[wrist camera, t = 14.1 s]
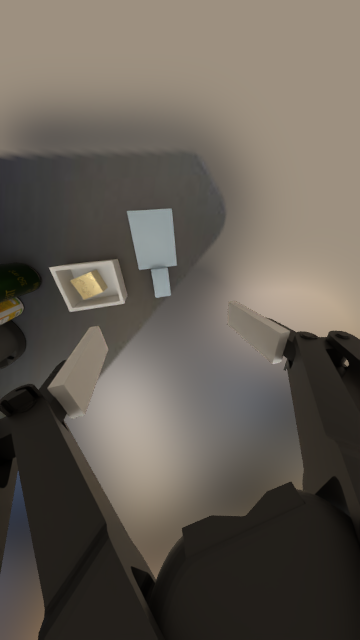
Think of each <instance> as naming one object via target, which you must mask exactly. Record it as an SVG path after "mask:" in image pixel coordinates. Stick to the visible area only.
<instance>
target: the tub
mask: <svg viewBox="0 0 360 640" xmlns="http://www.w3.org/2000/svg"><path fill="white" fill-rule="evenodd" d="M49 269H50V271H51V273H52V275H53V277H54V279H55V281H56V284H57V286H58V288H59V290H60V292H61V294H62V296H63V298H64V300H65V302H66V304H67V306H68V309H69V311H70V312H73V311H79V310H86V309H92V308H99V307H105V306H112V305H118V304H124V303H125V301H126V298H127V296H128V295H127V291H126V287H125V284H124V280H123V276H122V272H121V269H120V265H119V261H118V259H113V260H103V261H94V262H85V263H76V264H66V265H61V266H55V267H49ZM94 270H97V271H98V272H99V274H100V275H101V277H102V279H103V280H104V282H105V283H106V285H107V287H108V288H107V289H106V290H105V291H104V292H102V293H99V294H97V295H94V296H92V297H90V298H87V299H85V300H84V299H83V297H82V296H81V295H80V293H79V292H78V291H77V289H76V288H75V287H74V285H73V284H72V283H71V281H70V280H73V279H75V278H77V277H80V276H82V275H85V274H87V273H89V272H92V271H94Z"/></svg>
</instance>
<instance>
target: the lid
mask: <svg viewBox="0 0 360 640" xmlns="http://www.w3.org/2000/svg"><path fill="white" fill-rule="evenodd" d="M127 214H128V219H129V224H130V228H131V233H132V238H133V243H134V248H135V253H136V257H137V262H138V267H139V270H143V269H151V274H152V280H153V285H154V291H155V296H156V298H158V297H164V296H171V291H170V283H169V275H168V268H167V267H168V266H177V261H176V250H175V239H174V228H173V217H172V209H156V210H138V211H127Z"/></svg>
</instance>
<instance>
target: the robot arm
mask: <svg viewBox="0 0 360 640" xmlns="http://www.w3.org/2000/svg"><path fill="white" fill-rule="evenodd" d="M227 325H229V326H230V327H231V328H232V329H233V330H234V331H236V333H238V334H239V335H240V336H241V337H242V338H243V339H244V340H245V341H247V342H248V343H249V344H250V345H251V346H252V347H253V348H255V349H256V350H257V351H258V352H259V353H260V354H261V355H263V356H264V357H265V358H266V359H267V360H268V361H269V362H270V363H271V364H275V363H279V362H281V361H282V357H283V356H285V357H286V358H287V361H286V364H285V367H284V370H286V369H287V370H288V377H289V382H290V388H291V394H292V400H293V405H294V412H295V418H296V424H297V430H298V435H299V442H300V447H301V454H302V459H303V467H304V473H303V491H302V490H298V489H296V488H295V487H294V485H293V484H292V482H289V483H286V484H284V485H282V486H279V487H277V488H275V489H272V490H270V491H268V492H266V493H265V494H264V496H263V497H262V498H261V499H260V500H259V501H258V502H257V504H256V505H255V506H254V507H253V508H252V510H251V511H250V512H249V513H248V514H247V515H246V516H242V517H240V516H209V517H207V518H204V519H202V520H200V521H197V522H195V523H193V524H190V525H188V526H186V527H183V528H182V532H183V536H182V537H181V538H180V539H179V540H178V541H177V542H176V544H175V545H174V547H173V548H172V549H171V551H170V552H169V554H168V556H167V558H166V560H165V561H164V563H163V565H162V567H161V570H160V572H159V574H158V577H157V579H155V577H154V575H153V574H152V572H151V570H150V569H149V567H148V565H147V563H146V561H145V560H144V558H143V557H142V555H141V553H140V552H139V550H138V549H137V548H136V546H135V545H134V543H133V542H132V540H131V539H130V537H129V536H128V534H127V532H126V530H125V528H124V526H123V525H122V523H121V521H120V519H119V517H118V516H117V514H116V512H115V510H114V509H113V507H112V505H111V503H110V501H109V500H108V498H107V496H106V494H105V492H104V491H103V489H102V487H101V485H100V484H99V482H98V480H97V478H96V476H95V475H94V473H93V471H92V469H91V467H90V466H89V464H88V462H87V460H86V458H85V457H84V455H83V453H82V451H81V449H80V448H79V446H78V444H77V442H76V441H75V439H74V437H73V435H72V433H71V432H70V430H69V428H68V426H67V425H66V423H65V422H64V418H65V416H66V414H68V416H69V417H70V418H71V419H73V418H77V417H80V416H84V415H85V414H86V411H87V408H88V405H89V402H90V399H91V397H92V394H93V391H94V388H95V385H96V383H97V380H98V377H99V374H100V371H101V369H102V366H103V363H104V360H105V357H106V355H107V352H108V347H107V345H106V342H105V340H104V337H103V335H102V333H101V330H100V328H99V326H94V327H90V328H89V329H88V331H87V332H86V334H85V335H84V336H83V338H82V339H81V341H80V342H79V344H78V345H77V346H76V348H75V349H74V351H73V352H72V354H71V355H70V356H69V358H68V359H67V360H64V361H62V362H61V363H60V364H59V365H58V366H56V368H55V369H54V370H53V372H52V373H51V374H50V376H49V377H48V379H47V380H46V381H45V382H44V384H43V385H42V386H41V388H40V389H39V390H38V389H37V388H36V387H35V386H34V385H33V384H27V385H23V386H20V387H18V388H16V389H14V390H13V391H11V392H9V393H8V394H7V395H5V396H4V397H3V398H2V399H1V400H0V411H1V412H2V413H4V414H5V415H6V417H4V418H2V419H0V572H1V566H2V560H3V554H4V548H5V543H6V537H7V531H8V525H9V519H10V513H11V507H12V501H13V496H14V490H15V484H16V478H17V472H18V470H19V475H20V481H21V485H22V491H23V496H24V501H25V506H26V511H27V516H28V522H29V527H30V532H31V537H32V543H33V548H34V553H35V558H36V562H37V568H38V573H39V579H40V584H41V589H42V594H43V599H44V607H45V615H44V620H43V623H42V626H41V628H40V631H39V636H38V640H360V340H359V339H358V338H357V337H355V336H353V335H351V334H348V333H347V332H343V331H330V332H329V334H328V336H327V337H318V336H316V335H314V334H312V333H309V332H295V331H293V330H291V329H289V328H287V327H286V326H284V325H281V324H280V323H277V322H276V321H274V320H272V319H269V318H266V317H264V316H262V315H260V314H258V313H257V312H255V311H253V310H251V309H249V308H247V307H246V306H244V305H242V304H240V303H238V302H237V301H230V302H229V303H228V319H227ZM25 346H26V342H25V338H24V336H23V334H22V332H21V331H20V329H19V328H18V327H17V326H16V325H15V324H14V323H13V322H12V321H10V320H9V321H7V322H5V323H3V324H1V325H0V369H2V368H4V367H6V366H8V365H10V364H11V363H13V362H14V361H15V360H16V359H18V358H19V357H20V356H21V355H22V354H23V352H24V350H25ZM346 359H347V360H348V362H349V366H348V367H347V366H346V365H345V364H344V362H345V361H346Z"/></svg>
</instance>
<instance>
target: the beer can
mask: <svg viewBox="0 0 360 640" xmlns="http://www.w3.org/2000/svg"><path fill="white" fill-rule="evenodd" d="M40 282H41V280H40V276H39V275H38V273H37V272H36V271H35V270H34V269H32V268H31V267H29V266H27V265H24V264H20V263H11V264H1V265H0V303H1V302H4V301H7V300H10V299H13V298H15V297H18V296H21V295H24V294H26V293H29V292H32V291H34V290H36V289H38V287H39V286H40Z"/></svg>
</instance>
